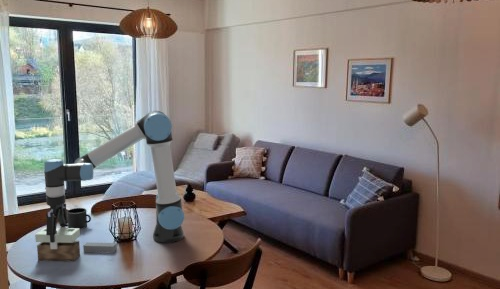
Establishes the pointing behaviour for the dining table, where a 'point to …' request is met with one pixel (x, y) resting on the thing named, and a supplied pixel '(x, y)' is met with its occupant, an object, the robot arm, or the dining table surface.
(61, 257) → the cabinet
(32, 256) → the dining table surface
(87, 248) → the pad
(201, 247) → the dining table surface
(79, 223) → the mug
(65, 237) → the cream rectangular block
